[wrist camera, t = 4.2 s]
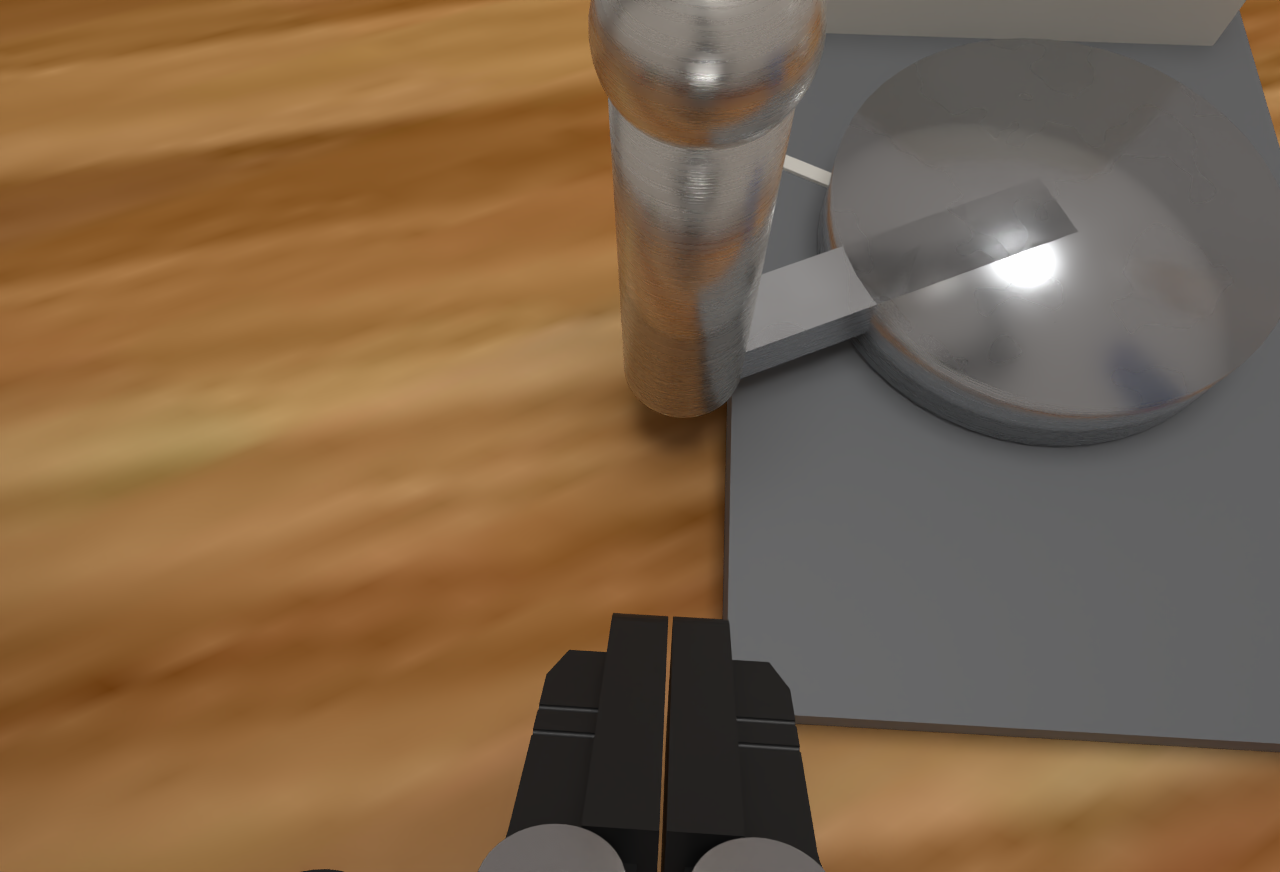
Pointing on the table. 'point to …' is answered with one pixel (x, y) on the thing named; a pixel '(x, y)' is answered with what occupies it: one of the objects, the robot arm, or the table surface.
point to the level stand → (1006, 476)
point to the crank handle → (933, 224)
